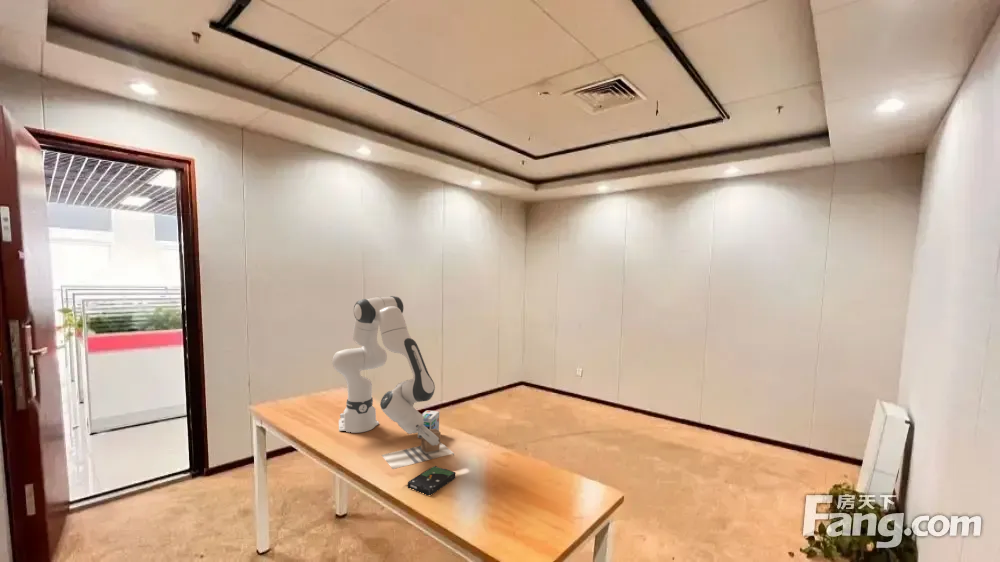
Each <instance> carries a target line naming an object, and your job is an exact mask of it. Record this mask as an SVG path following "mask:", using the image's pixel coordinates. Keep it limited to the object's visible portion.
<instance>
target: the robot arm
mask: <svg viewBox="0 0 1000 562" xmlns="http://www.w3.org/2000/svg"><path fill="white" fill-rule="evenodd" d="M403 313H404V303H403V301H402V299H401V298H400V297H398V296H394V295H390V296H376V297H371V298H363V299H359V300H358V301H356V302H355V304H354V306H353V315H354V323H353V329H352V335H351V338H352V341H354V342H355V343H356V344H357V345H359V346H361V347H354V348H353V347H352V348H345V349H341V350H338V351H336V352H335V353H334V354H333V357H332V360H331V361H332V362H331V365H332V367H333V369H334V370H335V371H336V372H337V373H339V374H340V375H341V376H342V377H343V378H344V379H345V381H346V385H347V399H346V405H345V408H344V410H343V412H342V413H340V415H339V416H340V419H338V432H340V431H346V432H347V433H350V432H351V433H353V434H355V433H357V434H359V433H364V432H369V431H371V430H372V429H373V430H374V428H375V427H376V426H378V425H379V424H380V421H378V420H377V413H376V412H377V411H376V408H375V406H373V405H374V404H373V402H374V399H373V394H372V393H373V384H372V381H371V380H370V379H369V378H368V377H365V376H362V374H361V371H366V370H368V371H369V370H374V369H378V368H381V367H383V366H385V364H386V362H387V360H388V354H387V352H386V350H388V351H389V352H392V353H394V354H400V355H402V356H404V357H405V358H406V360H407V361H408V364H409V367H410V370H411V373H412V375H413V376H412V377H413V378H411V379H407V380H403V381H401V382H398V383H397V385H396V386H395V387H394V388H393V389H392V390H389V391H386V392H385V393H384V395H383V396H382V397H381V400H380V402H379V403H380V404H379V406H380V409H381V410H382V413H384V414H385V415H386V416H387V417H388V418H389V419H390V420H391V421H392V422H394V423H396V424H397V425H398V426H399V428H401V429H402V430H403V431H404V432H405V433H407V434H408V435H412V434H417V435H418V434H420V435H421V436H422V437H423V438H424V439H425V440H426V441H428V442H429V443H430V444H431V445H433V446H434V445H438V444H439V441H438V440H439V438H438V437H437V436H436V435H435V434H434V433H433V432H431V431H430V430H429V429H428V428H427V427H425V426H424V425H423V424H424V421H423V415H422V414H423V413H421V412H419V410H417V409H416V408H415V407H414V405H415V404H416V403H420V402H421V403H422V402H428V401H429V400H431V399H432V398H433V395H434V394H435V389H436V387H435V385H436V384H435V382H434V380H433V379H432V376H431V375H430V373H429V371H428V368H427V366H426V363H425V361H424V359H423V355H422V353H421V351H420V348H419V346H418V343H417V342H416V341H415V339H413V338H412V337H411V336H410V334H409V331H408V327H407V323H406V319H405V316H404V314H403ZM378 331H379V332H380V335H381V340H382V344H383V345H384V347H385V348H384V347H382V346H381V345H380V344H379V342H378ZM346 432H345V433H346Z"/></svg>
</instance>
